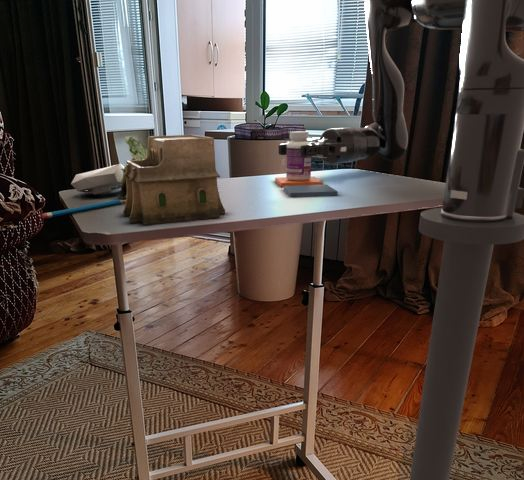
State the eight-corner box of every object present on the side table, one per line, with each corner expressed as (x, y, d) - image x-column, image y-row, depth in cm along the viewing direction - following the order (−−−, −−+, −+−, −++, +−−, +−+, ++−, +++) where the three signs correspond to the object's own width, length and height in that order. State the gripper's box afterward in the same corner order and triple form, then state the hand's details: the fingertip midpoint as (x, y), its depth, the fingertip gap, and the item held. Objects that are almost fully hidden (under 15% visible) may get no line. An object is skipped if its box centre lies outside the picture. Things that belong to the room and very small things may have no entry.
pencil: (43, 214, 79) (44, 218, 79) (128, 198, 91) (129, 202, 92) (40, 214, 79) (41, 218, 80) (125, 198, 92) (126, 202, 92)
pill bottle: (309, 181, 107) (310, 132, 103) (284, 181, 108) (284, 132, 103) (311, 177, 112) (313, 130, 107) (288, 177, 113) (288, 131, 108)
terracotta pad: (314, 180, 114) (314, 176, 114) (322, 185, 106) (322, 181, 106) (275, 181, 114) (275, 177, 113) (280, 187, 106) (280, 183, 105)
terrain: (186, 205, 94) (192, 196, 92) (144, 207, 87) (150, 197, 85) (151, 142, 96) (156, 132, 95) (108, 139, 90) (112, 129, 88)
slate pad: (326, 188, 103) (327, 184, 102) (337, 195, 95) (337, 191, 94) (283, 189, 102) (283, 185, 102) (290, 197, 94) (290, 192, 94)
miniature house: (204, 202, 90) (199, 133, 85) (230, 216, 78) (226, 137, 73) (119, 210, 85) (109, 137, 80) (133, 226, 73) (122, 142, 68)
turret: (157, 187, 111) (151, 164, 110) (112, 187, 93) (105, 160, 92) (117, 196, 114) (111, 174, 113) (66, 198, 96) (59, 172, 94)
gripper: (320, 127, 119) (267, 130, 109) (369, 128, 109) (315, 132, 99) (319, 160, 122) (267, 166, 112) (366, 165, 112) (314, 172, 102)
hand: (290, 150), depth 106 cm, fingers open, 6 cm apart
